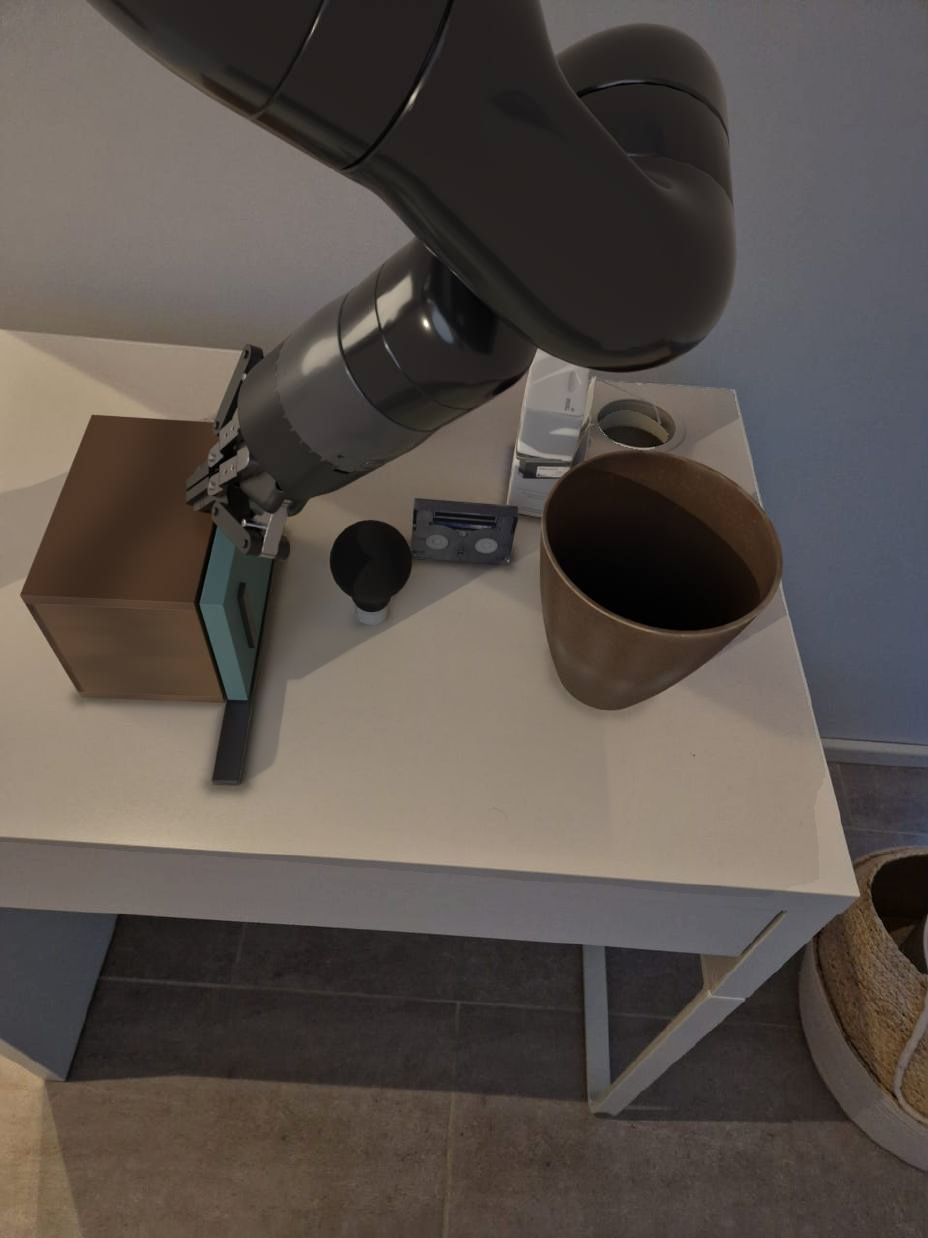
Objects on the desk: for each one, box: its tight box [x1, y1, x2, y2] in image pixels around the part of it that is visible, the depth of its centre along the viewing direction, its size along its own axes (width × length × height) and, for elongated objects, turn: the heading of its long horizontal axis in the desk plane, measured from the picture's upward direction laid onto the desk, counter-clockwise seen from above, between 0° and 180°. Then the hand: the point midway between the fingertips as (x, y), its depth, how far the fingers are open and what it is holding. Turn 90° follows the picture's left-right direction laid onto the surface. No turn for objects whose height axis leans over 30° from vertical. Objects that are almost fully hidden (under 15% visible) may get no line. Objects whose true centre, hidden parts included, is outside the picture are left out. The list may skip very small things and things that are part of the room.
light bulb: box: [329, 519, 413, 626], centre depth 58 cm, size 6×6×10 cm
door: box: [200, 501, 272, 700], centre depth 56 cm, size 2×17×11 cm, turn 1°
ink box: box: [506, 348, 591, 519], centre depth 68 cm, size 8×5×12 cm, turn 172°
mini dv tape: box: [410, 497, 519, 567], centre depth 64 cm, size 8×2×6 cm, turn 89°
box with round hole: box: [571, 375, 662, 468], centre depth 74 cm, size 14×8×5 cm, turn 170°
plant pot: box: [539, 449, 784, 711], centre depth 55 cm, size 15×15×16 cm
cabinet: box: [19, 414, 278, 787], centre depth 55 cm, size 12×23×12 cm, turn 1°
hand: (200, 496), depth 51 cm, fingers closed
